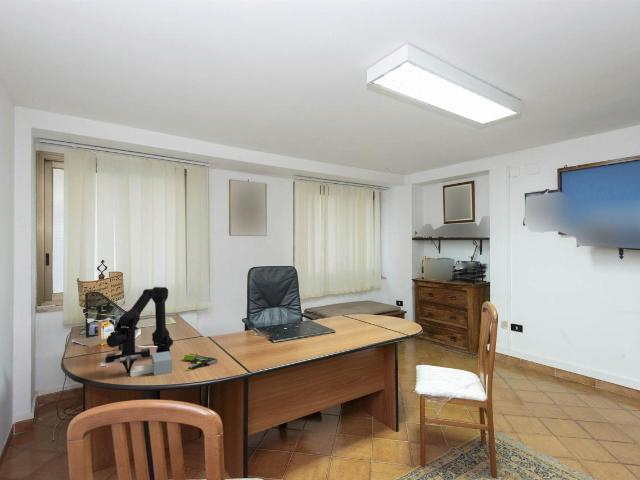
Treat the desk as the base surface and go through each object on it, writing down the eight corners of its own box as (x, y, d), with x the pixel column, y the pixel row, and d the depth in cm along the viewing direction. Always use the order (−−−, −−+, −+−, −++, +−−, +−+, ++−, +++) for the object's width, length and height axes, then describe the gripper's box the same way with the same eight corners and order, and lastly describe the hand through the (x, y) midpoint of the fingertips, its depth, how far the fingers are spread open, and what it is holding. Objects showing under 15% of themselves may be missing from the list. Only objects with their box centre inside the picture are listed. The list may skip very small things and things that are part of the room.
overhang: (168, 363, 177) (168, 351, 177) (171, 372, 165) (171, 359, 165) (152, 366, 173) (152, 353, 173) (153, 375, 161) (154, 362, 161)
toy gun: (169, 362, 170) (188, 351, 184) (169, 370, 170) (188, 358, 185) (202, 368, 165) (219, 356, 179) (202, 376, 165) (219, 363, 180)
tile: (160, 367, 173) (160, 362, 173) (162, 371, 167) (162, 366, 167) (130, 372, 166) (130, 367, 166) (130, 377, 160) (130, 372, 160)
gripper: (149, 334, 173) (148, 364, 173) (106, 339, 164) (106, 370, 164) (150, 339, 164) (150, 371, 164) (105, 345, 154) (105, 379, 154)
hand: (128, 372), depth 162 cm, fingers closed
